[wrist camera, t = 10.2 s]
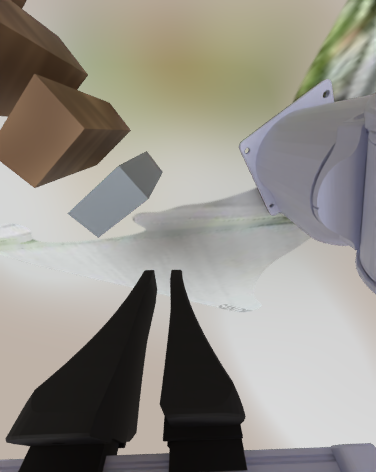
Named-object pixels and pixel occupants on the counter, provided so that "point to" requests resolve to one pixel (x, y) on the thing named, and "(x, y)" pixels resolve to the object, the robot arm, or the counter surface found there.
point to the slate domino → (118, 194)
